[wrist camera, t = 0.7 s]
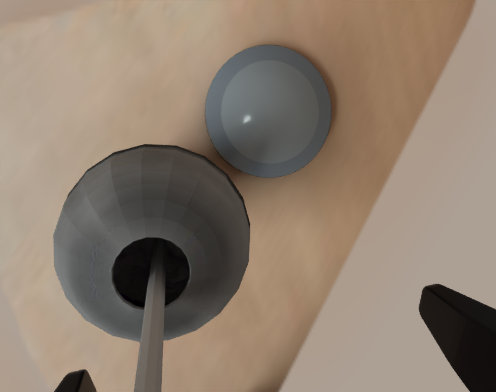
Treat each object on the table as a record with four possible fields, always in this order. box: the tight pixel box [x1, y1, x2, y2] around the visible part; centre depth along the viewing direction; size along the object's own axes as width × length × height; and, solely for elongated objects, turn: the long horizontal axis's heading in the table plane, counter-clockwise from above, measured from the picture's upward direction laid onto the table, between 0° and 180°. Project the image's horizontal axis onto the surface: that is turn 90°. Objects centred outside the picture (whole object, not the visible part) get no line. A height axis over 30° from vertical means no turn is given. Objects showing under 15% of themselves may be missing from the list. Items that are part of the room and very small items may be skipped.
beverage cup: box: [54, 144, 250, 392], centre depth 15 cm, size 7×7×20 cm
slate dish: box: [205, 45, 331, 178], centre depth 25 cm, size 9×9×1 cm
